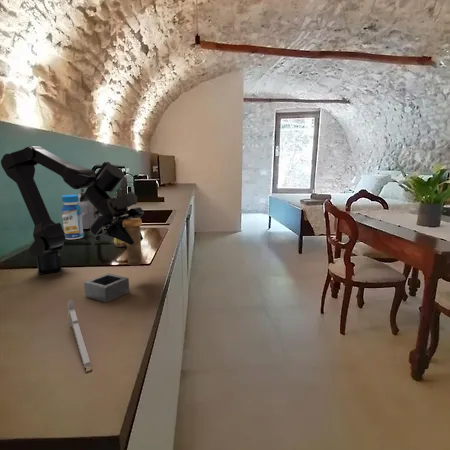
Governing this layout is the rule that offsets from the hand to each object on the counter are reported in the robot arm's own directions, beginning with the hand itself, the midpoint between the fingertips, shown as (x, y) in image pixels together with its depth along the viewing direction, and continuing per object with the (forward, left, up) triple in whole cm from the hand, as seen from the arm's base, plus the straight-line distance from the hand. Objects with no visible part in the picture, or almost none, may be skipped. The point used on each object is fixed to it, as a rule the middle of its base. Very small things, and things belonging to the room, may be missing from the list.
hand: (137, 241), depth 94 cm
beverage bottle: (-11, +72, -13) cm, 74 cm away
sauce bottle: (+5, +46, -13) cm, 48 cm away
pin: (-1, +1, -7) cm, 7 cm away
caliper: (-20, -27, -13) cm, 35 cm away
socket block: (-10, -4, -12) cm, 16 cm away
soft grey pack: (-1, +91, -13) cm, 92 cm away
